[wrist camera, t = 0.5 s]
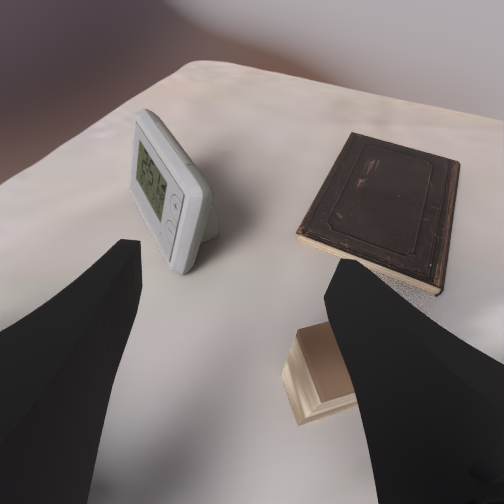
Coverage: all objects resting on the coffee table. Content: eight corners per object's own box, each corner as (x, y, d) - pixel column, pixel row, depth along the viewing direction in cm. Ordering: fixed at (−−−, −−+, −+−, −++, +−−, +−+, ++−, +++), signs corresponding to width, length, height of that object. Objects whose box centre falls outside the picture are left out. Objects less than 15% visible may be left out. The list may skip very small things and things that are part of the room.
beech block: (365, 404, 25) (423, 369, 17) (297, 426, 24) (324, 399, 16) (344, 357, 27) (386, 306, 19) (281, 375, 26) (298, 329, 18)
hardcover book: (293, 244, 36) (296, 231, 34) (347, 145, 48) (351, 131, 46) (434, 299, 32) (446, 288, 30) (453, 175, 44) (463, 162, 42)
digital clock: (131, 188, 40) (101, 110, 32) (197, 175, 42) (186, 98, 34) (147, 289, 31) (111, 217, 23) (231, 266, 33) (227, 193, 24)
